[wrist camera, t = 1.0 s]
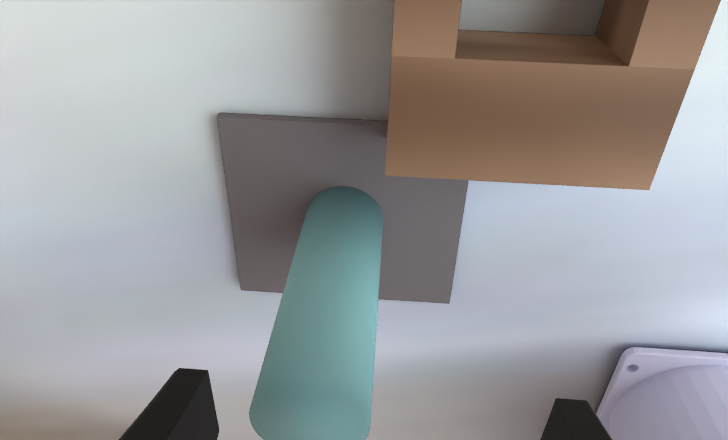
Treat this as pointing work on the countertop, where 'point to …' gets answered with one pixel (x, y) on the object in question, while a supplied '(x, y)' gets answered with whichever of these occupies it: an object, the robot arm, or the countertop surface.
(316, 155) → the mat
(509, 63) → the hole block
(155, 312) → the countertop surface
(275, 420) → the peg
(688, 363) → the robot arm
